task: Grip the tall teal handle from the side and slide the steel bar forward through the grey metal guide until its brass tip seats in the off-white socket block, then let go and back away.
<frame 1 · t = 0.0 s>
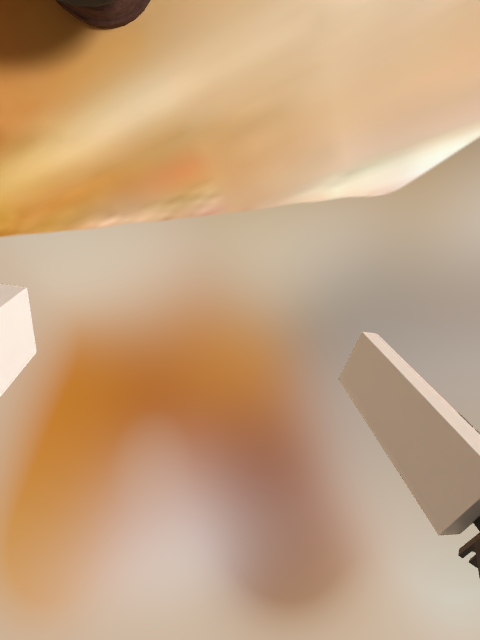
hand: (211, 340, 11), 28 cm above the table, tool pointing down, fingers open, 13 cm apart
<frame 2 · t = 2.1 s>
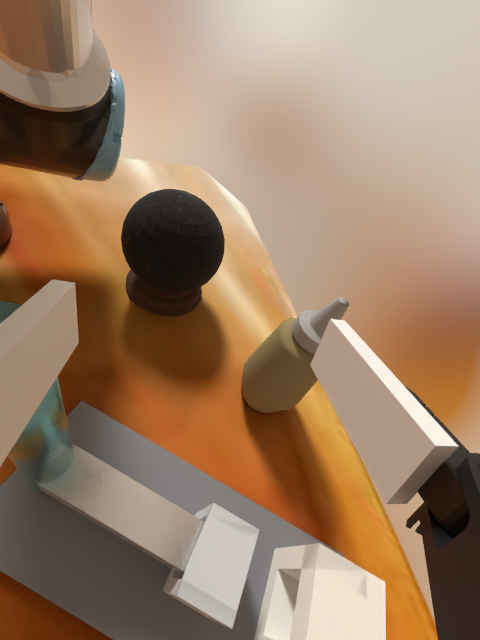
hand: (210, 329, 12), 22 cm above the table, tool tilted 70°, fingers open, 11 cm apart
squeeze bottle: (260, 393, 37), on the table
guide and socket: (188, 555, 24), on the table
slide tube: (127, 487, 16), point 11 cm above the table, slide at -0.1 cm, touching gripper
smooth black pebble: (164, 289, 43), on the table
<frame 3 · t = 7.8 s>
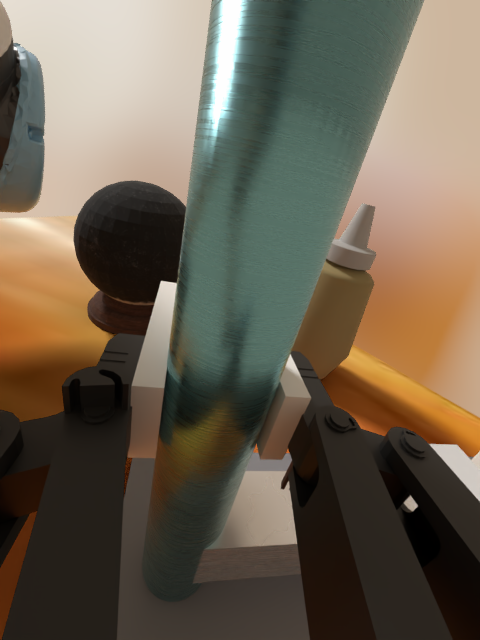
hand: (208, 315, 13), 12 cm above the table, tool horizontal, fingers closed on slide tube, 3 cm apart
squeeze bottle: (302, 366, 33), on the table
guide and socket: (388, 554, 17), on the table
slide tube: (377, 424, 10), point 11 cm above the table, slide at 0.0 cm, touching gripper
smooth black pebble: (138, 313, 35), on the table
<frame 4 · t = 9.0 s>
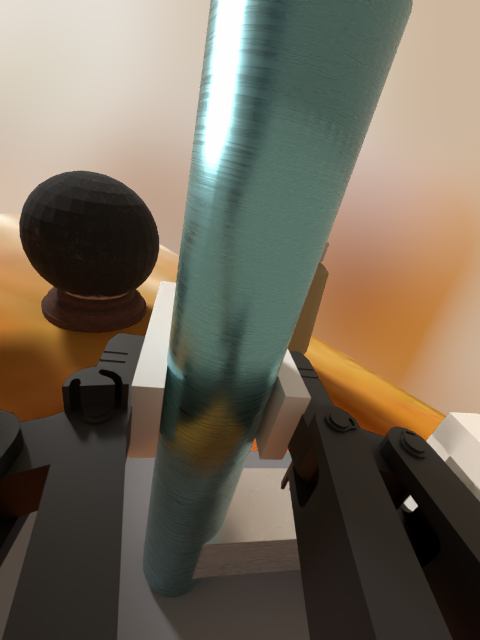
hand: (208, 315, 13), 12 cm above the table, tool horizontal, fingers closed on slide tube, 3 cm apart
squeeze bottle: (263, 362, 32), on the table
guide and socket: (318, 556, 16), on the table
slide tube: (372, 421, 11), point 11 cm above the table, slide at 4.8 cm, touching gripper
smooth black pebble: (97, 308, 34), on the table
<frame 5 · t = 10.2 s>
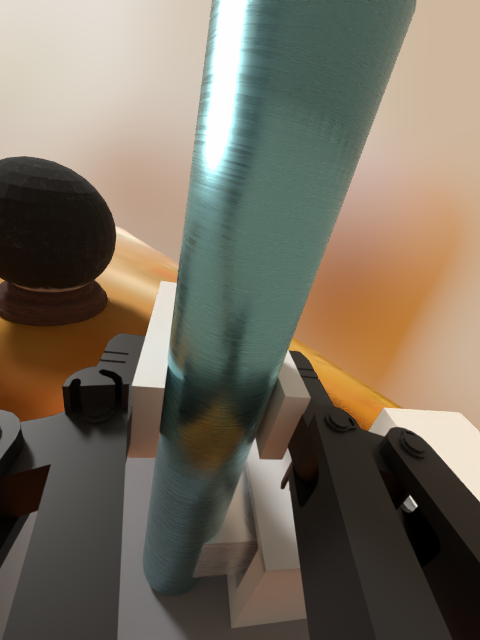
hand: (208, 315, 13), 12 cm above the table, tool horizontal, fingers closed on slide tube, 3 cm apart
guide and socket: (239, 560, 15), on the table
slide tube: (372, 421, 11), point 11 cm above the table, slide at 9.5 cm, touching gripper
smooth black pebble: (54, 302, 33), on the table
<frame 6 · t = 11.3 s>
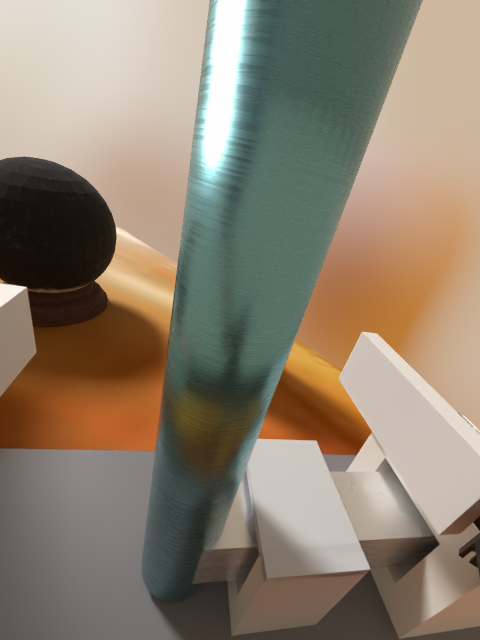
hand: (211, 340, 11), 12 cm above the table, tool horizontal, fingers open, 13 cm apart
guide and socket: (240, 565, 15), on the table
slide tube: (376, 425, 10), point 11 cm above the table, slide at 9.5 cm
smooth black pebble: (54, 303, 33), on the table
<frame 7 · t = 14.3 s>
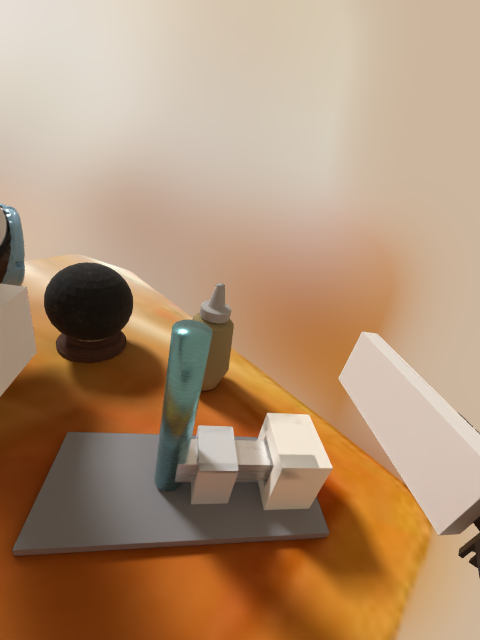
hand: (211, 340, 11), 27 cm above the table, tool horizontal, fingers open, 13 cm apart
squeeze bottle: (201, 380, 49), on the table
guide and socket: (198, 484, 33), on the table
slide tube: (241, 418, 28), point 11 cm above the table, slide at 9.5 cm
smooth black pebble: (92, 344, 51), on the table
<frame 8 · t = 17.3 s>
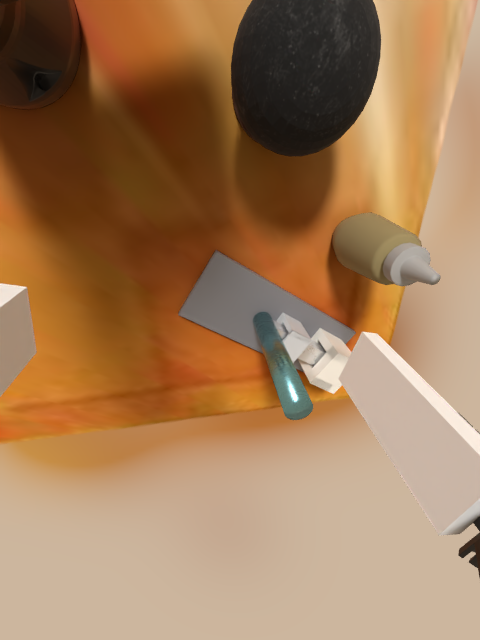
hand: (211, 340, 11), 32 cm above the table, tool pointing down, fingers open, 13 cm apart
squeeze bottle: (349, 235, 43), on the table
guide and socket: (276, 323, 50), on the table
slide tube: (309, 370, 41), point 11 cm above the table, slide at 9.5 cm
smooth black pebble: (278, 92, 33), on the table
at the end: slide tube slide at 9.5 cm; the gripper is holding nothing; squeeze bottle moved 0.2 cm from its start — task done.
